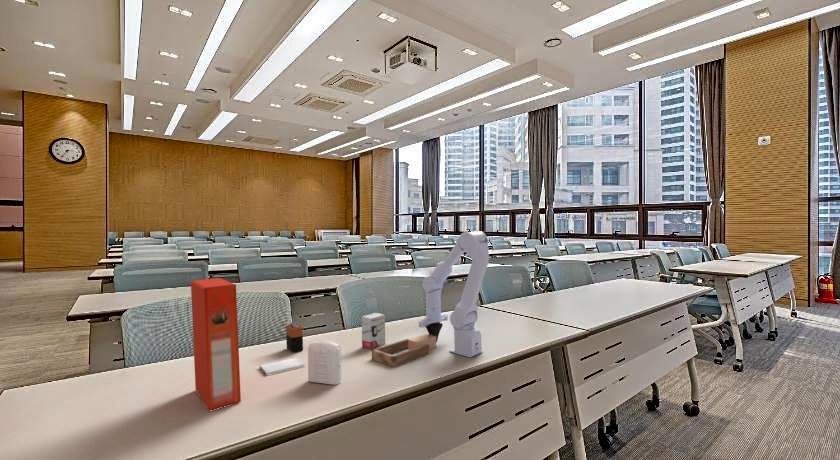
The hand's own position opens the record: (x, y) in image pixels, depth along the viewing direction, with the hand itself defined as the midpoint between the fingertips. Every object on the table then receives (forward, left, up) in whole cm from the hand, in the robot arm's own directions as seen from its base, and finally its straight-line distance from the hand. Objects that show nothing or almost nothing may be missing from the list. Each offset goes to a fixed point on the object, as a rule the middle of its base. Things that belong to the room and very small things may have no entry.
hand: (434, 342), depth 153 cm
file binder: (+15, +74, -1) cm, 76 cm away
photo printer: (+1, +48, -1) cm, 48 cm away
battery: (+36, +39, -1) cm, 53 cm away
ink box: (+17, +16, -1) cm, 23 cm away
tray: (0, +17, -1) cm, 17 cm away
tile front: (0, +9, -1) cm, 9 cm away
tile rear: (0, +4, -1) cm, 4 cm away
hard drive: (+22, +51, -2) cm, 56 cm away
